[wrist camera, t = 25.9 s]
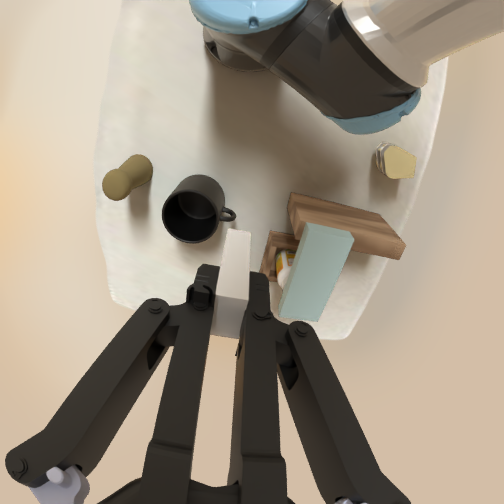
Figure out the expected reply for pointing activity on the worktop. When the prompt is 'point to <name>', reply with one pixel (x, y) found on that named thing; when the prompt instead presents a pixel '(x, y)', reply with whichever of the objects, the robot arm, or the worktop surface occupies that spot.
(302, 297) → the plank
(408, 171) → the pale yellow layered block
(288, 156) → the worktop surface
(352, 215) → the wall
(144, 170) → the cork
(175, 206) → the mug
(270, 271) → the brown wooden square tray
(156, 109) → the worktop surface
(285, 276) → the supplement bottle
